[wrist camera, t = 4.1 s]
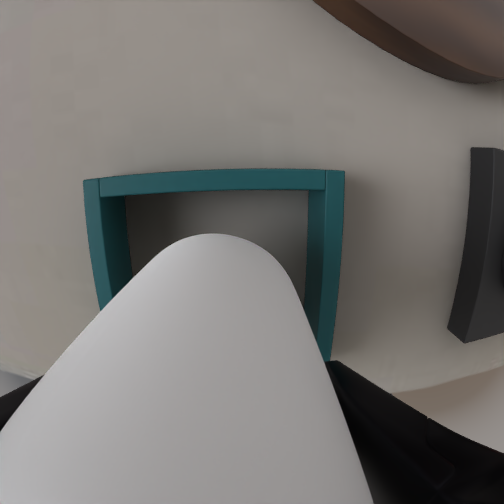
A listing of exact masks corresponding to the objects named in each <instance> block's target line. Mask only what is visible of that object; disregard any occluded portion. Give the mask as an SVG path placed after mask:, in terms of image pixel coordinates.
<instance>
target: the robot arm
mask: <svg viewBox="0 0 504 504" xmlns="http://www.w3.org/2000/svg"><path fill="white" fill-rule="evenodd" d="M324 363H325V366H326V369H327V371H328V374H329V377H330V379H331V382H332V385H333V387H334V390H335V393H336V396H337V398H338V401H339V404H340V406H341V409H342V412H343V415H344V417H345V420H346V423H347V426H348V429H349V432H350V434H351V437H352V440H353V443H354V446H355V449H356V452H357V454H358V457H359V460H360V463H361V466H362V469H363V472H364V475H365V478H366V481H367V484H368V487H369V490H370V493H371V496H372V500H373V503H374V504H504V453H501V452H499V451H497V450H494V449H492V448H489V447H487V446H484V445H482V444H480V443H477V442H475V441H472V440H470V439H468V438H466V437H464V436H462V435H460V434H457V433H455V432H453V431H452V430H450V429H448V428H446V427H444V426H442V425H441V424H439V423H437V422H435V421H434V420H432V419H430V418H428V419H427V416H425V415H424V414H422V413H420V412H419V411H417V410H415V409H414V408H412V407H410V406H409V405H407V404H405V403H404V402H402V401H401V400H399V399H397V398H396V397H394V396H393V395H391V394H389V393H388V392H386V391H385V390H383V389H381V388H380V387H378V386H377V385H375V384H373V383H372V382H370V381H369V380H367V379H366V378H364V377H363V376H361V375H359V374H358V373H356V372H355V371H353V370H352V369H350V368H349V367H347V366H346V365H344V364H342V363H341V362H339V361H337V360H335V361H325V362H324ZM43 376H44V375H43ZM43 376H41V377H39V378H37V379H35V380H33V381H31V382H30V383H27V384H25V385H23V386H21V387H19V388H17V389H16V390H13V391H12V392H10V393H8V394H6V395H4V396H2V397H0V431H1V430H2V429H3V427H4V426H5V425H6V423H7V422H8V420H9V419H10V418H11V416H12V415H13V414H14V412H15V411H16V410H17V409H18V407H19V406H20V405H21V403H22V402H23V401H24V399H25V398H26V397H27V396H28V394H29V393H30V392H31V391H32V389H33V388H34V387H35V386H36V385H37V383H38V382H39V381H40V380H41V378H42V377H43Z"/></svg>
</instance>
